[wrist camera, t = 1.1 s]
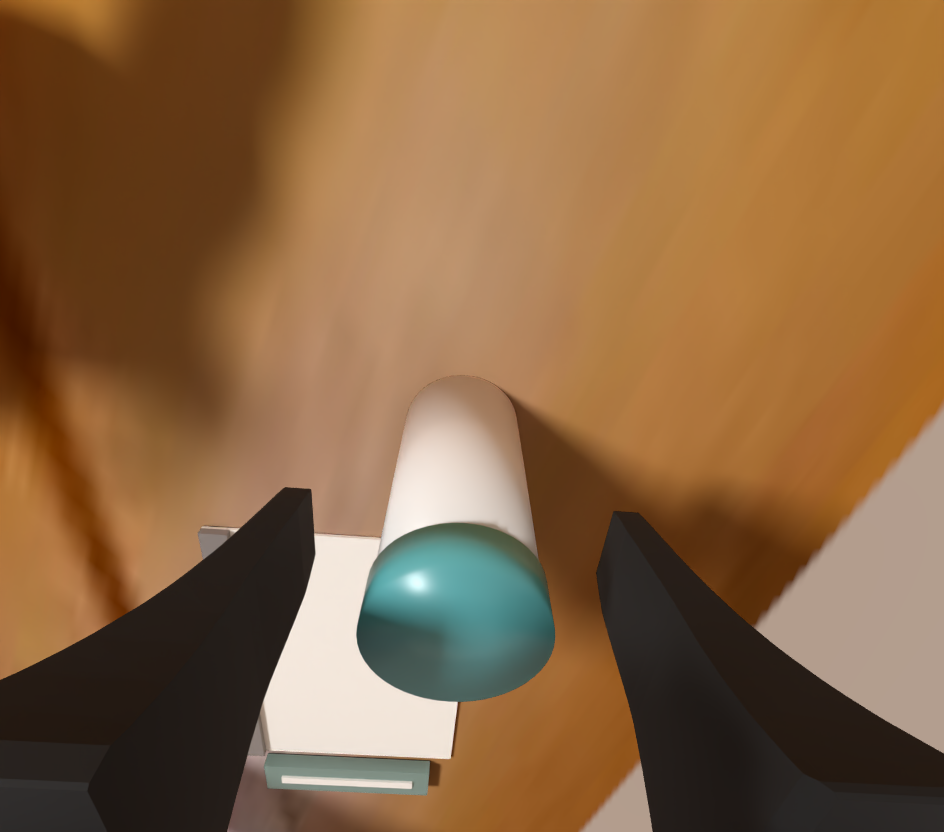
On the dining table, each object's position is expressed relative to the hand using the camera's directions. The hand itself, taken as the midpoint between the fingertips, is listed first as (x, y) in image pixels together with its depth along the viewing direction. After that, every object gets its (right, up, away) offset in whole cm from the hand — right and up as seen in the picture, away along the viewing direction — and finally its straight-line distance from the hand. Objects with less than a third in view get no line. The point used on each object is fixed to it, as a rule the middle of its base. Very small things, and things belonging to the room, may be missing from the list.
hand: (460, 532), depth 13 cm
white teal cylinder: (0, +3, +5) cm, 5 cm away
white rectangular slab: (-5, -8, +10) cm, 14 cm away
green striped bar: (-6, -15, +14) cm, 22 cm away
